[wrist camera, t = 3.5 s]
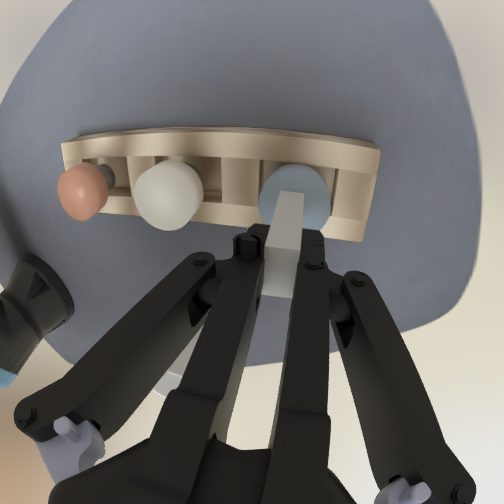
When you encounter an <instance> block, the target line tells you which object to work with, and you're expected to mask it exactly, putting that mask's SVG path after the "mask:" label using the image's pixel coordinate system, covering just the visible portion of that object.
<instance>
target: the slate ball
mask: <svg viewBox="0 0 504 504" xmlns="http://www.w3.org/2000/svg"><path fill="white" fill-rule="evenodd" d="M280 190H281V191H290V192H298V193H304V207H303V222H302V228H305V229H313V230H321V229H322V228H323V226H324V225H325V224H326V222H327V220H328V218H329V215H330V211H331V203H330V195H329V190H328V186H327V184H326V182H325V180H324V178H323V177H322V176H321V175H320V174H319V173H318V172H317V171H316V170H314V169H313V168H311V167H308V166H306V165H301V164H288V165H284V166H281V167H279V168H277V169H276V170H275V171H273V172H272V173H271V174H270V175H269V177H268V178H267V180H266V182H265V184H264V186H263V188H262V190H261V192H260V195H259V199H258V209H259V213H260V216H261V218H262V220H263V222H264V223H265V224H266V225H271V222H272V218H273V215H274V211H275V208H276V204H277V201H278V197H279V194H280Z"/></svg>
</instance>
